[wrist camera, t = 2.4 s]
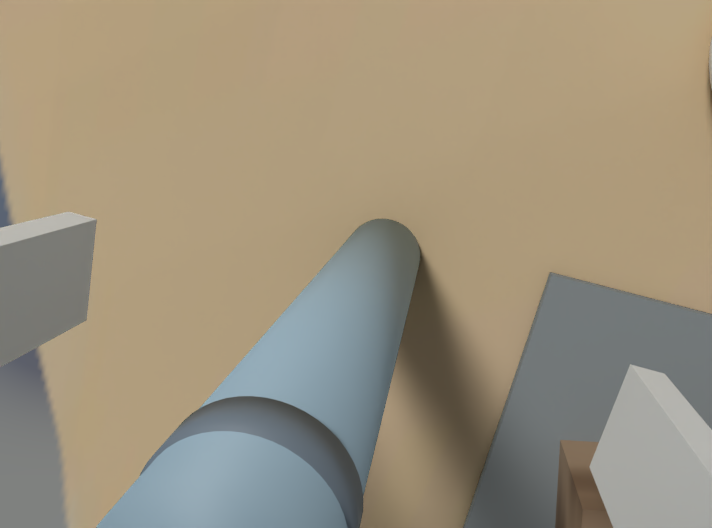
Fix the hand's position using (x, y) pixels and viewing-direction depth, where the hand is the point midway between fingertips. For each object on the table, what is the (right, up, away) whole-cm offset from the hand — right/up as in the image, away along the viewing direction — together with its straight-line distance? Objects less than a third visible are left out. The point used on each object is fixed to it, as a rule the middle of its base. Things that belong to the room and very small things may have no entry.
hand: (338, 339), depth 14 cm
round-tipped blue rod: (+1, +2, +8) cm, 8 cm away
